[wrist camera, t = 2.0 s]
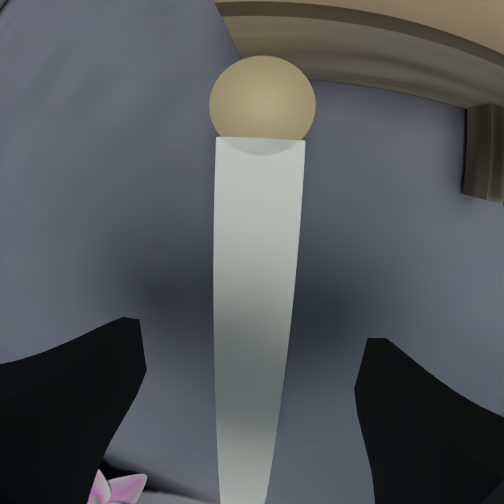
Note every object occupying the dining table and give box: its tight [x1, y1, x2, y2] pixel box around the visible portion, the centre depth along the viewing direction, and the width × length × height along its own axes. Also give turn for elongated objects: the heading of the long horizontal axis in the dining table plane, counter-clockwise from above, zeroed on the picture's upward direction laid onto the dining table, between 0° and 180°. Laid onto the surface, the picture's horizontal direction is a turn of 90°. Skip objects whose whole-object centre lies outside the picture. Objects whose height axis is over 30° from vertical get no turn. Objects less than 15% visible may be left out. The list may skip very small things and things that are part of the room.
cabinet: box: [215, 0, 504, 205], centre depth 7 cm, size 12×16×7 cm
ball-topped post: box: [209, 56, 316, 504], centre depth 12 cm, size 17×2×6 cm, turn 178°
